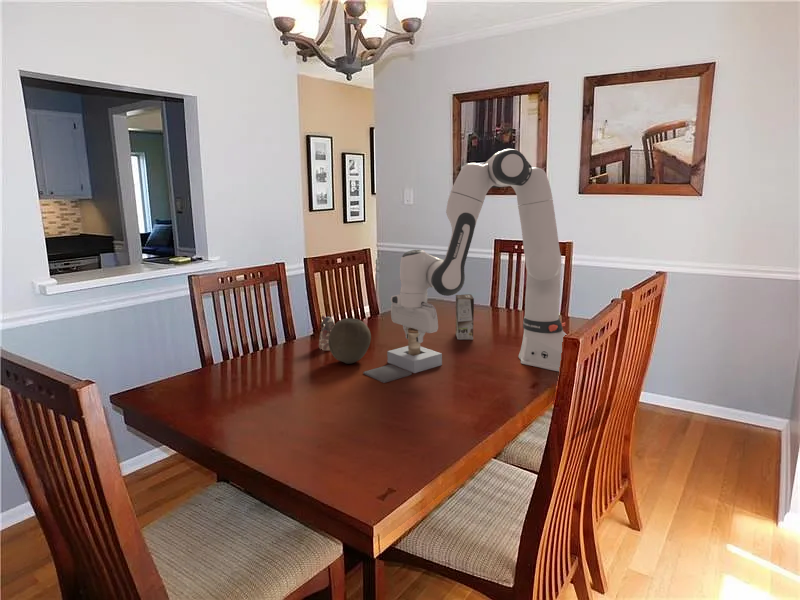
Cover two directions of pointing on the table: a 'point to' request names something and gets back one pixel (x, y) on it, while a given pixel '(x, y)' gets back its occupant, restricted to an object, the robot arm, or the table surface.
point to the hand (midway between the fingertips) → (414, 340)
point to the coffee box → (464, 316)
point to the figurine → (325, 332)
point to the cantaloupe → (349, 340)
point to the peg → (413, 342)
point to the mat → (387, 373)
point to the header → (414, 359)
